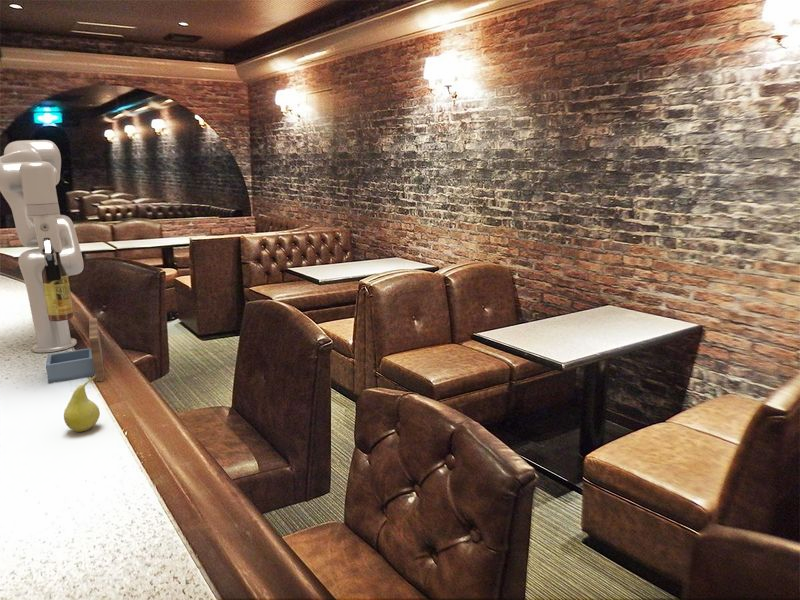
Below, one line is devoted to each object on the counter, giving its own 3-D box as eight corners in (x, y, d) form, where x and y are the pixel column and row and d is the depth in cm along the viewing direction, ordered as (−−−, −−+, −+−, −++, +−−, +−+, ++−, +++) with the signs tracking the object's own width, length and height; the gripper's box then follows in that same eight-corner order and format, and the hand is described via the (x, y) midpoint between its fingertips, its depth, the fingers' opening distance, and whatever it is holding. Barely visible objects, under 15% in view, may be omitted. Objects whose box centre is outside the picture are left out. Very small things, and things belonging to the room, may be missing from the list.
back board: (95, 357, 189) (89, 318, 186) (102, 356, 190) (96, 317, 187) (96, 382, 168) (89, 338, 165) (104, 380, 168) (97, 337, 166)
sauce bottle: (63, 322, 168) (50, 249, 163) (43, 322, 169) (29, 249, 165) (80, 316, 174) (68, 244, 170) (60, 315, 176) (48, 244, 171)
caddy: (50, 371, 178) (47, 354, 177) (95, 364, 183) (93, 347, 182) (48, 383, 168) (45, 365, 167) (96, 375, 173) (93, 358, 172)
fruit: (67, 427, 140) (58, 375, 137) (104, 420, 143) (96, 369, 140) (65, 438, 134) (55, 385, 131) (104, 431, 137) (95, 379, 134)
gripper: (57, 211, 159) (69, 281, 163) (60, 207, 174) (71, 271, 178) (23, 214, 156) (36, 285, 160) (29, 209, 171) (41, 275, 175)
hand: (54, 277), depth 169 cm, fingers closed on sauce bottle, 6 cm apart
